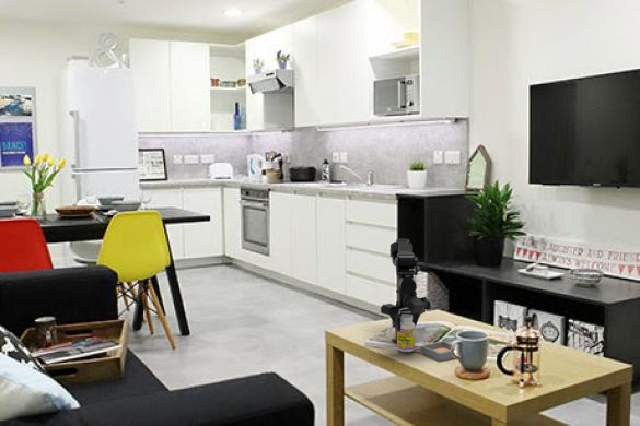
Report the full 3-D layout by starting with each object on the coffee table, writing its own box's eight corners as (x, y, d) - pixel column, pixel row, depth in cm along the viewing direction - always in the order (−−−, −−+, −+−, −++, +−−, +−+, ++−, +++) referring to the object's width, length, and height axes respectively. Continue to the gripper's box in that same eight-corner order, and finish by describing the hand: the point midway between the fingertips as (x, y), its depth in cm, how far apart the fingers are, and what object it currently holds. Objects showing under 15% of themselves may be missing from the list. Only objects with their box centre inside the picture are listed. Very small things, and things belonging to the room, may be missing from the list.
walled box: (420, 353, 248) (420, 345, 248) (443, 348, 254) (443, 340, 253) (439, 362, 239) (439, 354, 239) (463, 356, 244) (463, 348, 244)
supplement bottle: (394, 351, 248) (394, 317, 247) (400, 346, 254) (400, 312, 252) (411, 353, 245) (411, 319, 243) (417, 348, 251) (417, 314, 249)
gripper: (398, 296, 235) (398, 339, 237) (440, 289, 244) (440, 331, 246) (380, 289, 245) (380, 331, 247) (421, 283, 254) (421, 324, 256)
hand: (406, 329), depth 249 cm, fingers closed on supplement bottle, 7 cm apart
